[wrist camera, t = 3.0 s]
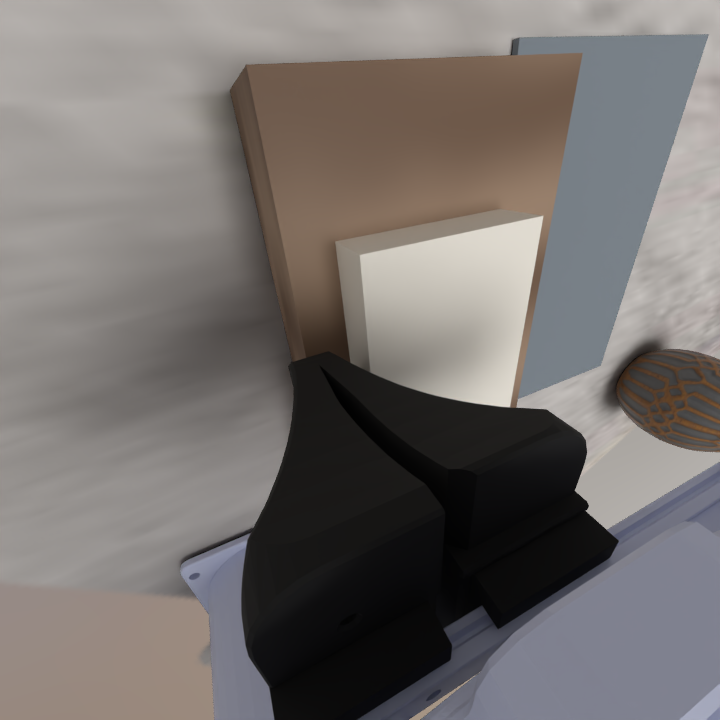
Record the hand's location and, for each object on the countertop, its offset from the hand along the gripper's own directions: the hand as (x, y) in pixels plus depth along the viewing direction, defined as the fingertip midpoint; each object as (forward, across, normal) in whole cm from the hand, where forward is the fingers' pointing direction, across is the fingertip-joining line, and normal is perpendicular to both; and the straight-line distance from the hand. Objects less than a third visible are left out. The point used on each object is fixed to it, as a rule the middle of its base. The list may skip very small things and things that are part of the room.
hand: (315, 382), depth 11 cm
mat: (+4, -16, 0) cm, 17 cm away
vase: (+5, -27, +12) cm, 30 cm away
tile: (+1, -4, 0) cm, 5 cm away
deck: (+4, -5, 0) cm, 7 cm away
